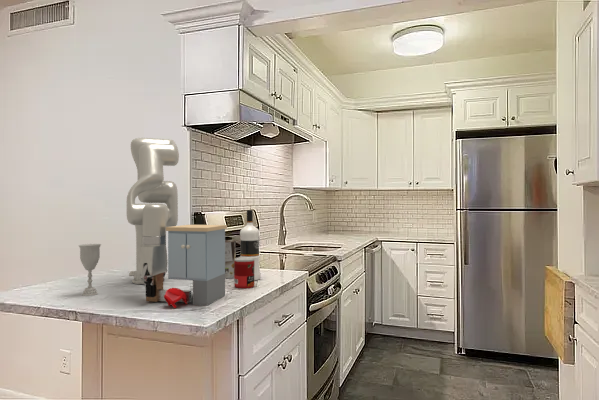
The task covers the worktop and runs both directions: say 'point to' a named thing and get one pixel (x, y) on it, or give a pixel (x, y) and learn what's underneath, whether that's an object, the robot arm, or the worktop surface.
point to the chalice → (89, 264)
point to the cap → (174, 296)
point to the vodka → (250, 243)
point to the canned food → (244, 272)
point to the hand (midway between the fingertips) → (154, 294)
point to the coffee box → (230, 258)
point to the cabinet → (198, 259)
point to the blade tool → (164, 290)
